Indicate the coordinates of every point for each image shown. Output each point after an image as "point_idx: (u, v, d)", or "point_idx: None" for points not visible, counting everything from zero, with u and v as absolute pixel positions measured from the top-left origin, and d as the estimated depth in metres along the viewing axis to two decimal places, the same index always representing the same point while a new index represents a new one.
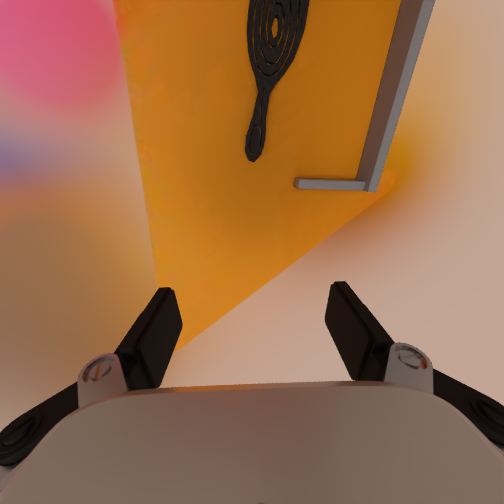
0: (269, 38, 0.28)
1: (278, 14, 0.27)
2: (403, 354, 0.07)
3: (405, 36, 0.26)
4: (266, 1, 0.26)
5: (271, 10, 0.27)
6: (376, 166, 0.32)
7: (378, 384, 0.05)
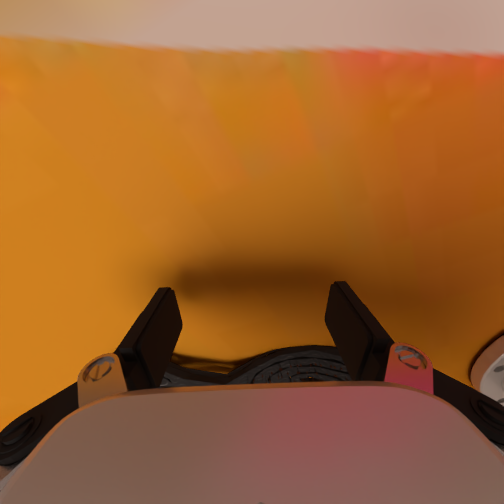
0: (300, 375, 0.17)
1: None
2: (403, 354, 0.07)
3: None
4: (342, 374, 0.16)
5: (331, 378, 0.17)
6: None
7: (378, 384, 0.05)
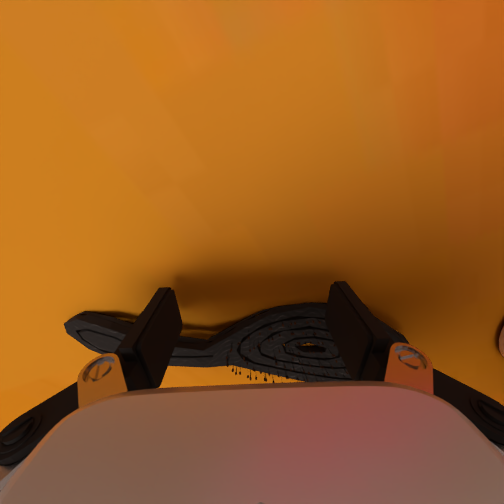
0: (295, 341, 0.15)
1: (326, 352, 0.15)
2: (403, 354, 0.07)
3: None
4: None
5: (332, 343, 0.14)
6: None
7: (378, 384, 0.05)
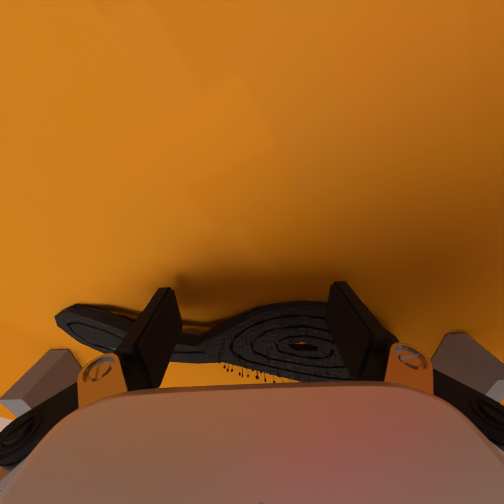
0: (288, 339, 0.15)
1: (318, 351, 0.15)
2: (403, 354, 0.07)
3: None
4: None
5: (325, 343, 0.14)
6: None
7: (378, 384, 0.05)
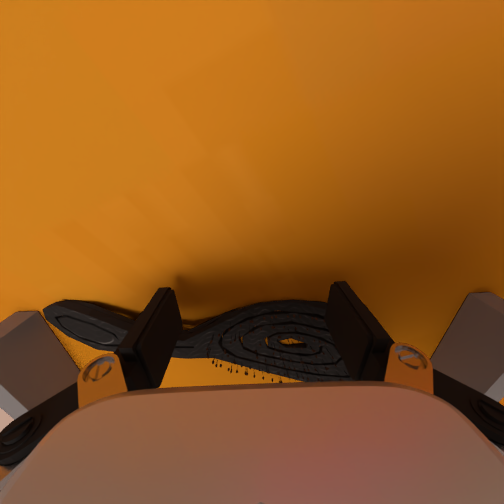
0: (277, 336, 0.15)
1: (307, 348, 0.15)
2: (403, 354, 0.07)
3: None
4: (326, 333, 0.14)
5: (313, 339, 0.14)
6: None
7: (378, 384, 0.05)
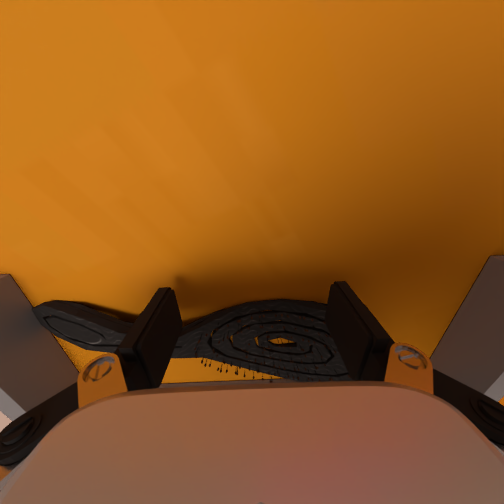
0: (267, 335, 0.15)
1: (297, 347, 0.15)
2: (403, 354, 0.07)
3: None
4: (316, 332, 0.14)
5: (303, 339, 0.14)
6: None
7: (378, 384, 0.05)
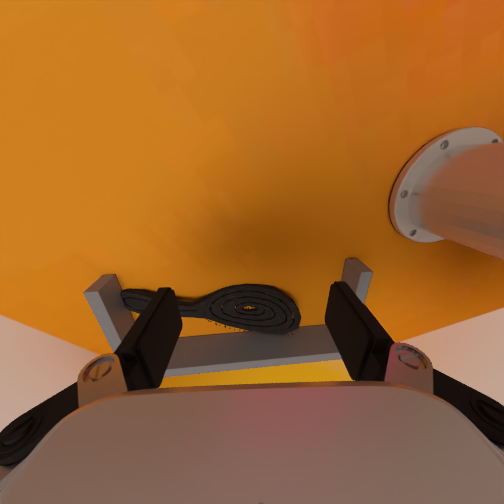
0: (241, 304, 0.27)
1: (257, 311, 0.28)
2: (403, 354, 0.07)
3: (267, 348, 0.28)
4: (265, 301, 0.27)
5: (260, 305, 0.27)
6: None
7: (378, 384, 0.05)
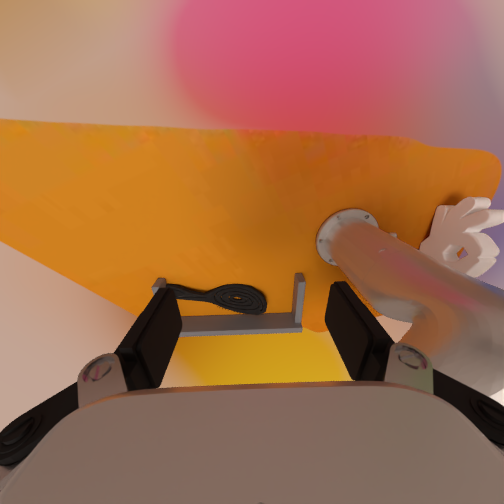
0: (232, 296, 0.46)
1: (242, 300, 0.47)
2: (403, 354, 0.07)
3: (248, 324, 0.47)
4: (246, 294, 0.46)
5: (243, 297, 0.46)
6: None
7: (378, 384, 0.05)
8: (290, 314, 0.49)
